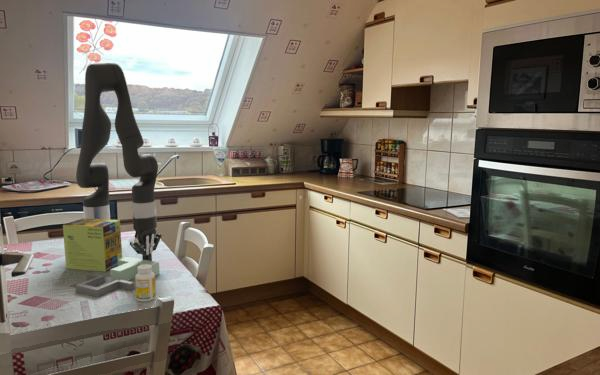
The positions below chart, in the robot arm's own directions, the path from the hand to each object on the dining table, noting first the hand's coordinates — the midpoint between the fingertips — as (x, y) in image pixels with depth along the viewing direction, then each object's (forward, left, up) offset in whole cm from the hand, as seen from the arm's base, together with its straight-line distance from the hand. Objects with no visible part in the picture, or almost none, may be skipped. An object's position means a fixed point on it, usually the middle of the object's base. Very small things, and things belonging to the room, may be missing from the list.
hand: (147, 264), depth 164 cm
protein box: (-19, -5, -2) cm, 20 cm away
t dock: (0, -20, -2) cm, 20 cm away
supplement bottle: (+18, -19, -2) cm, 26 cm away
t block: (0, -8, -2) cm, 8 cm away
